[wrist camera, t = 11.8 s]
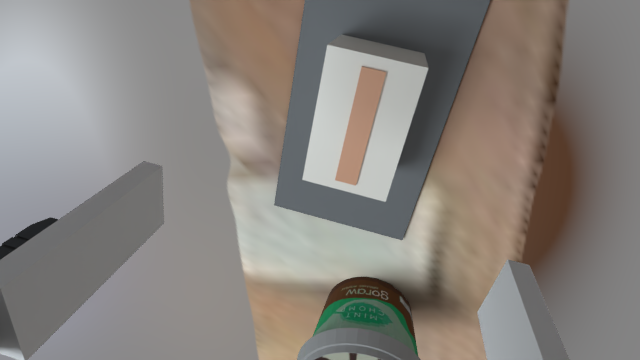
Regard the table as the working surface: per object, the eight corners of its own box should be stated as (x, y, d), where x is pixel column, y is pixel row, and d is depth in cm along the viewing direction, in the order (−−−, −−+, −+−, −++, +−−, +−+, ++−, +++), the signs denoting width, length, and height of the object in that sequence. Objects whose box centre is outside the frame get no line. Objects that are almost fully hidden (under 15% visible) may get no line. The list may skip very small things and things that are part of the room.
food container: (417, 264, 38) (420, 346, 29) (425, 310, 40) (430, 399, 32) (302, 271, 41) (274, 347, 33) (316, 313, 44) (293, 394, 35)
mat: (318, -80, 27) (317, -81, 26) (504, -43, 25) (506, -44, 25) (275, 203, 38) (274, 205, 38) (402, 237, 37) (402, 240, 37)
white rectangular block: (388, 168, 33) (385, 203, 28) (318, 150, 34) (301, 180, 29) (424, 53, 29) (428, 68, 23) (341, 34, 29) (326, 45, 24)
